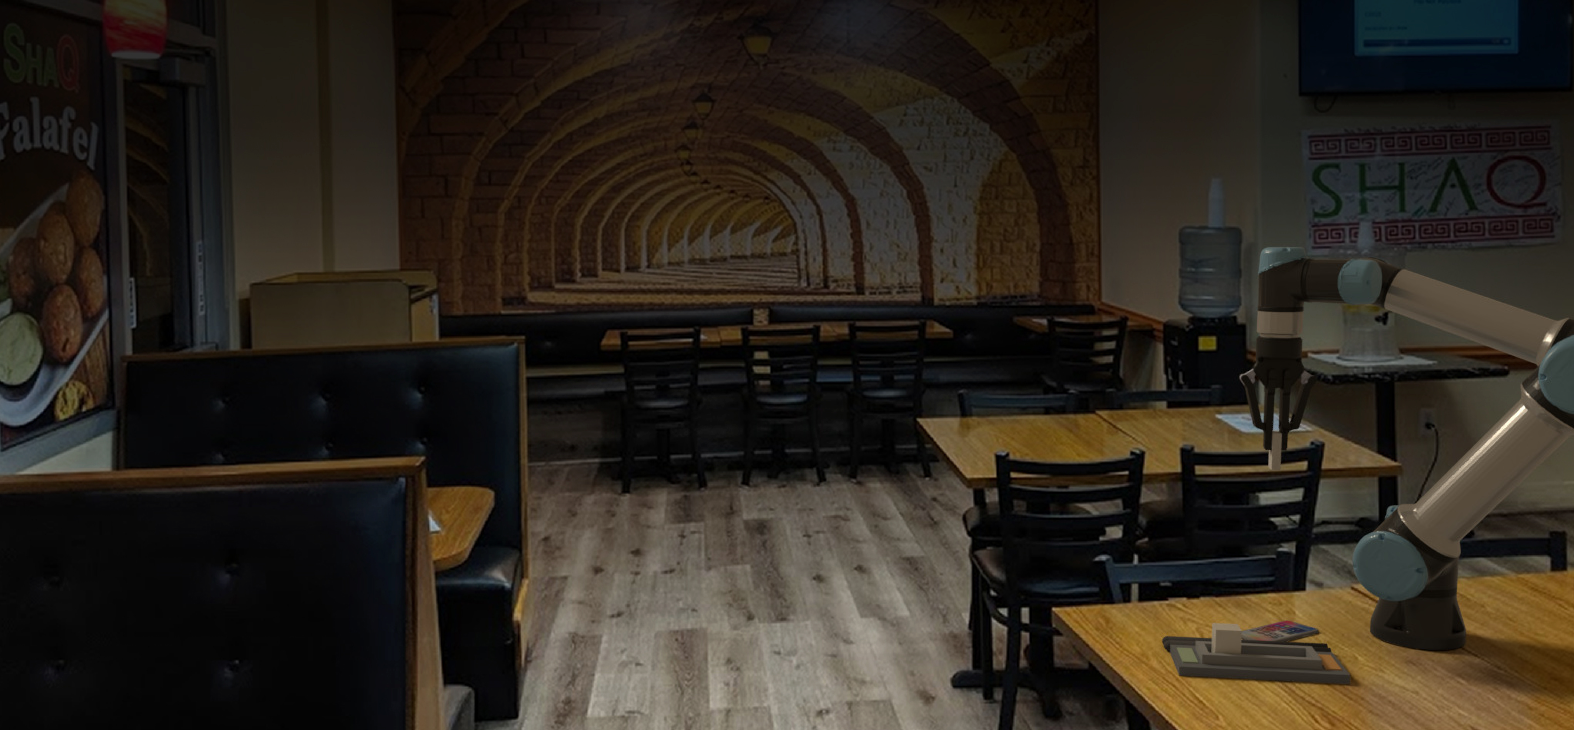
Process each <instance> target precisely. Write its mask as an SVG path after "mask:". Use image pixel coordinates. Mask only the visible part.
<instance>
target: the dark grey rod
mask: <svg viewBox="0 0 1574 730" xmlns="http://www.w3.org/2000/svg"><path fill="white" fill-rule="evenodd" d="M1167 640H1176V641H1210V642H1212V637H1198V636H1197V637H1194V636H1193V637H1192V636H1173V635H1172V636H1171V635H1166V636H1163V637H1162V639H1161V643H1162V645H1163V646H1164V642H1165V641H1167ZM1241 643H1253V644H1274V645H1295V646H1312V647H1325V648H1329V645H1328V643H1325V642H1324V643H1321V642H1305V641H1303V642H1302V641H1299V642H1298V641H1287V642H1283V641H1262V640H1243V639H1241Z"/></svg>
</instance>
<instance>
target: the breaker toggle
mask: <svg viewBox="0 0 1574 730" xmlns="http://www.w3.org/2000/svg"><path fill="white" fill-rule="evenodd" d="M1211 625H1212V626H1211V638H1212V649H1211V653H1229V654H1241V640H1242V639H1241V638H1242V631H1243V630H1242V629H1241V628H1240V625H1239V624H1238V623H1217V622H1212V624H1211Z"/></svg>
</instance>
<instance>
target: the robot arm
mask: <svg viewBox="0 0 1574 730" xmlns="http://www.w3.org/2000/svg"><path fill="white" fill-rule="evenodd" d="M1258 265H1259V266H1258V271H1257V276H1258V278H1257V279H1258V283H1257V284H1258V285H1257V287H1258V289H1257V291H1258V292H1257V317H1256V318H1257V319H1256V333H1258V334H1259V336H1257V337H1256V338H1255V339H1256V341H1255V342H1256V343H1255V361H1254V362H1253V364H1252V368H1251V369H1250V370H1249V371H1246V372H1245V373H1241V374H1239V376H1238V378H1239V380H1240V382H1241V384H1242V385H1243V387H1244V389H1245V395H1246V399H1247V403H1248V409H1249V412H1250V417H1251V423H1252V425H1253V426H1254V428H1255V429H1257V430H1261V431H1263V438H1262V441H1263V442H1262V446H1263V449H1264V450H1265V451H1268V466H1267V467H1268V468H1269V469H1270V470H1271V471H1281V467H1282V466H1281V465H1282V463H1281V462H1282V451H1284V452H1285V451H1287V449H1288V440H1289V439H1288V437H1289V433H1290V432H1291V431H1295V430H1296V431H1297V430H1298V429H1299V428H1300V426H1301V425H1302V420H1303V416H1304V413H1305V410H1306V406H1307V403H1308V401H1309V400H1308V399H1309V396H1310V393H1311V390H1312V389H1313V387H1314V386H1315V384H1316V383H1317V382H1318V377H1317V376H1315V375H1312V373H1311V374H1310V373H1309V372H1308V371H1306V370H1305V366H1304V364H1303V362H1302V360H1303V359H1302V357H1303V356H1302V355H1303V338H1302V337H1301V336H1300V335H1302V334H1303V333H1304V330H1303V328H1304V311H1305V310H1304V309H1305V307H1304V305H1305V303H1318V304H1319V303H1320V304H1321V303H1322V304H1323V303H1324V304H1342V305H1351V306H1356V305H1358V306H1359V305H1372V306H1375V307H1378V308H1381V309H1385V310H1388V311H1390V312H1393V313H1395V314H1399V315H1401V316H1403V317H1406V318H1409V319H1412V320H1415V321H1418V322H1420V323H1423V324H1426V325H1428V326H1431V327H1434V328H1437V329H1440V330H1442V331H1445V332H1448V333H1450V334H1452V335H1455V336H1458V337H1461V338H1464V339H1466V340H1470V341H1472V342H1475V343H1478V344H1479V345H1482V346H1483V345H1484V346H1486V347H1489V348H1490V349H1493V350H1497V351H1500V352H1502V353H1505V354H1507V355H1511V356H1514V357H1516V358H1518V359H1522V360H1524V361H1527V362H1530V363H1533V364H1535V365H1536V368H1535V369H1534V370H1533V371H1532V372H1531V373H1530V374H1529V375H1528V376H1527V377H1526V378H1525V379H1524V380H1522V382H1521V383H1520V395H1521V397H1520V399H1519V400H1518V401H1517V402H1515V404H1514V405H1513V406H1512V407H1511V408H1510V409H1509V410H1508V411H1507V412H1506V413H1505V414H1504V415H1503V416H1502V417H1501V418H1500V419H1499V420H1498V421H1497V422H1496V423H1495V424H1494V425H1492V427H1491V428H1490V429H1489V430H1488V431H1487V432H1486V433H1485V434H1484V435H1482V437H1481V438H1480V439H1478V441H1477V442H1476V443H1475V444H1474V445H1473V446H1472V447H1471V448H1470V449H1469V450H1468V451H1467V452H1465V454H1464V455H1463V456H1462V457H1460V459H1458V461H1457V462H1456V463H1454V465H1453V466H1452V467H1451V468H1450V469H1449V470H1448V471H1447V472H1446V473H1445V474H1444V475H1443V476H1441V478H1440V479H1439V480H1437V481H1436V483H1434V485H1433V486H1432V487H1431V488H1430V489H1429V490H1428V491H1427V492H1425V494H1423V496H1422V497H1421V498H1419V500H1418V501H1417V502H1416V503H1401V504H1400V505H1399V504H1398V505H1396V504H1395V505H1390V506H1388V507H1387V509H1386V515H1385V517H1384V521H1382V523H1381V524H1379V525H1378V527H1377V528H1375V529H1374V530H1373V531H1372V532H1370V533H1368V534H1366V535H1363V537H1362V538H1361V539H1360V540H1359V541H1358V543H1357V544H1356V546H1355V547H1354V550H1353V554H1352V568H1353V572H1354V574H1355V577H1356V578H1357V581H1358V582H1359V584H1361V586H1362V587H1363V588H1364V589H1365V590H1366V591H1367V592H1369V593H1370V594H1372V595H1373V596H1375V597H1377V598H1378V601H1377V602H1376V605H1375V607H1374V609H1373V612H1372V614H1371V617H1370V621H1369V622H1370V623H1369V625H1370V626H1369V627H1370V628H1369V632H1370V633H1371V635H1372V636H1373V637H1375V638H1376V639H1379V640H1381V641H1384V642H1387V643H1389V644H1391V645H1392V644H1393V645H1397V646H1401V647H1406V648H1411V649H1416V650H1417V649H1418V650H1428V651H1429V650H1431V651H1445V650H1454V649H1459V648H1462V647H1464V646H1465V645H1466V643H1467V628H1466V625H1465V622H1464V619H1463V615H1462V611H1461V608H1460V605H1459V601H1458V596H1457V595H1458V593H1457V592H1458V580H1459V564H1460V563H1459V561H1460V555H1461V550H1462V549H1461V543H1460V542H1461V540H1462V539H1463V538H1465V537H1466V535H1468V534H1469V533H1470V532H1471V531H1472V530H1473V529H1474V528H1475V527H1476V526H1477V525H1478V524H1479V523H1480V522H1481V521H1482V520H1484V518H1485V517H1486V516H1487V515H1488V514H1490V513H1491V512H1492V511H1493V510H1494V509H1495V508H1496V507H1497V506H1498V505H1499V504H1500V503H1501V502H1503V500H1505V499H1506V498H1507V497H1508V496H1509V494H1511V493H1512V492H1513V491H1514V490H1515V489H1516V488H1517V487H1518V486H1519V485H1520V484H1521V483H1522V482H1524V481H1525V479H1526V478H1528V476H1529V475H1531V474H1532V473H1533V472H1534V471H1535V469H1537V468H1538V467H1539V466H1540V465H1541V464H1542V463H1544V461H1545V460H1547V459H1548V458H1549V457H1550V456H1551V455H1552V453H1554V452H1555V451H1556V450H1557V449H1558V448H1559V447H1560V446H1561V445H1563V443H1564V442H1565V441H1566V440H1567V439H1569V437H1571V436H1574V319H1572V318H1569V317H1566V318H1563V319H1559V320H1555V319H1552V318H1549V317H1547V316H1544V315H1541V314H1537V313H1535V312H1531V311H1529V310H1526V309H1522V308H1519V307H1517V306H1514V305H1511V304H1508V303H1505V302H1501V301H1499V300H1495V299H1493V298H1490V297H1487V296H1484V295H1481V294H1479V293H1476V292H1472V291H1470V290H1467V289H1464V288H1460V287H1457V286H1455V285H1452V284H1449V283H1446V282H1443V281H1440V280H1437V279H1434V278H1431V277H1428V276H1425V275H1422V274H1420V273H1417V272H1414V271H1410V270H1408V269H1405V268H1401V267H1399V266H1396V265H1392V264H1391V263H1389V261H1387V260H1384V259H1383V258H1380V257H1375V256H1363V257H1358V258H1357V257H1356V258H1329V259H1328V258H1309V257H1308V256H1307V252H1306V249H1305V248H1304V247H1300V246H1296V247H1295V246H1293V247H1292V246H1291V247H1290V246H1268V247H1264V248H1263V249H1262V250H1261V252H1260V256H1259V263H1258ZM1255 377H1257V379H1258V381H1260V383H1261V384H1262V385H1263V386H1264V387H1263V390H1264V391H1263V392H1264V400H1263V403H1264V404H1263V419H1262V417H1261V416H1262V415H1261V412H1260V407H1259V402H1258V397H1257V393H1256V389H1255V388H1256V387H1255V386H1254V383H1255V382H1256V379H1255ZM1299 379H1300V383H1301V385H1300V387H1299V389H1298V394H1297V396H1296V400H1295V404H1294V406H1293V407H1294V408H1293V410H1292V413H1291V417H1290V407H1291V405H1290V403H1291V392H1292V389H1291V388H1293V386H1294V385H1295V384H1296V382H1297V381H1298V380H1299ZM1276 389H1278V391H1279V402H1278V404H1279V406H1278V408H1279V409H1278V430H1274V420H1275V419H1274V418H1275V416H1274V415H1275V399H1276V398H1275V396H1276Z"/></svg>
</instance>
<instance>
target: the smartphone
mask: <svg viewBox="0 0 1574 730" xmlns="http://www.w3.org/2000/svg"><path fill="white" fill-rule="evenodd" d="M1241 631H1242V638H1241V640H1262V641H1283V642H1292V641H1294V640H1298V639H1301V638H1306V637H1310V636H1314V635H1318V634H1319V633H1320V630H1319V628H1316V627H1313V626H1309V625H1307V624H1302V623H1301V622H1300V623H1299V622H1296V621H1292V620H1282V621H1278V622H1273V623H1268V624H1266V625H1262V626H1257V627H1253V628H1248V629H1244V630H1241Z"/></svg>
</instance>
